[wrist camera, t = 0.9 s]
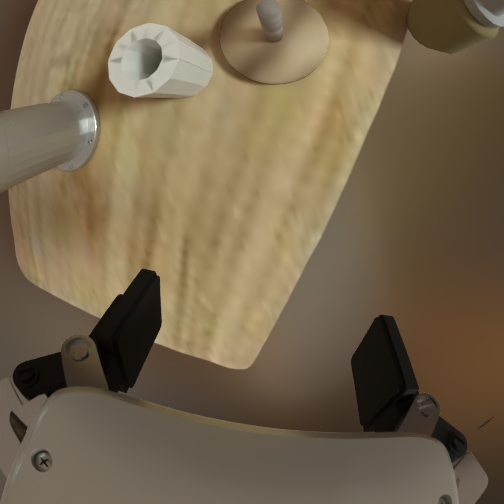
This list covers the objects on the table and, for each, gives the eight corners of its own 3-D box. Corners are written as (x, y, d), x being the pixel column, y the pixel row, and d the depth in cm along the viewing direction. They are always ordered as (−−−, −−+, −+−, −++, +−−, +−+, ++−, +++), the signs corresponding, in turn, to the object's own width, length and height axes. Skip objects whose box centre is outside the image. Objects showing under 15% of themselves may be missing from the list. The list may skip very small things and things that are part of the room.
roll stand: (205, 61, 27) (171, 44, 18) (250, -15, 21) (235, -55, 12) (298, 101, 28) (304, 97, 19) (343, 24, 22) (365, -8, 13)
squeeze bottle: (398, 45, 22) (484, 9, 7) (396, -5, 18) (465, -61, 3) (451, 65, 22) (548, 59, 6) (449, 16, 18) (533, -12, 2)
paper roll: (150, 88, 29) (98, 86, 19) (172, 39, 25) (127, 18, 16) (197, 105, 30) (158, 106, 20) (222, 55, 26) (192, 32, 17)
